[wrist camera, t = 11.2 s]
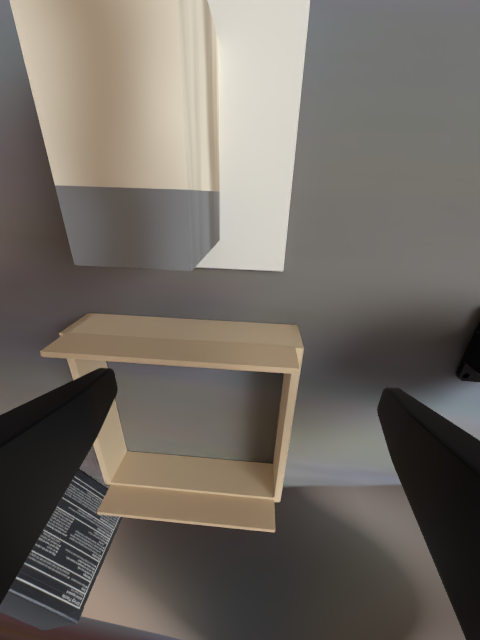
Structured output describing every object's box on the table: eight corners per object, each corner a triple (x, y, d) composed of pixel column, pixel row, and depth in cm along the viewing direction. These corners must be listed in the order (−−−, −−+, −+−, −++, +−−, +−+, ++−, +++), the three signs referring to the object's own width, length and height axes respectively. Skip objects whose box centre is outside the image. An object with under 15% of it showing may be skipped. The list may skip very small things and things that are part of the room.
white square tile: (310, -10, 13) (311, -17, 13) (282, 269, 19) (283, 271, 19) (39, -7, 14) (32, -13, 13) (95, 260, 20) (91, 262, 19)
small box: (33, 475, 32) (-61, 590, 23) (62, 455, 30) (-28, 573, 21) (100, 518, 36) (41, 636, 26) (131, 503, 33) (79, 625, 24)
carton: (297, 323, 21) (310, 369, 15) (277, 468, 28) (281, 533, 23) (87, 311, 22) (30, 350, 16) (122, 454, 29) (91, 513, 24)
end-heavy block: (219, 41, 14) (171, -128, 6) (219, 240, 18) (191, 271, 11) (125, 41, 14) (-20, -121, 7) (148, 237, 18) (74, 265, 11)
